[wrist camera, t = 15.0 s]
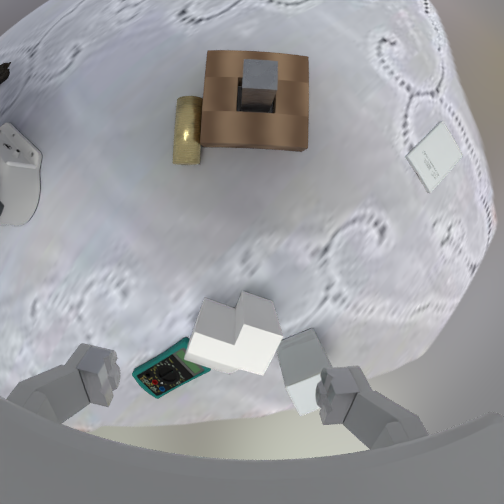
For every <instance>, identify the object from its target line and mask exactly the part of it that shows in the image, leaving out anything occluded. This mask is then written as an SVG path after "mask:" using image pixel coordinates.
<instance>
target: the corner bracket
mask: <svg viewBox="0 0 504 504" xmlns="http://www.w3.org/2000/svg"><path fill="white" fill-rule="evenodd" d="M282 338H283V334H282V330H281V327H280V324H279V320H278V317H277V314H276V310H275V307H274V304H273V301H270V300H268V299H265V298H262V297H259V296H256V295H253V294H250V293H248V292H245V291H242V293H241V295H240V298H239V300H238V303H237V305H236V308H233V307H230V306H227V305H224V304H221V303H219V302H216V301H213V300H210V299H208V298H204V301H203V303H202V306H201V309H200V312H199V314H198V317H197V320H196V323H195V326H194V328H193V331H192V334H191V337H190V340H189V344H188V347H187V350H186V354H185V357H184V360H187V361H190V362H193V363H196V364H199V365H202V366H205V367H208V368H211V369H214V370H217V371H220V372H224V373H227V374H231V373H233V372H235V371H237V370H239V369H241V370H245V371H248V372H252V373H255V374H259V375H264V373H265V371H266V369H267V367H268V365H269V364H270V362H271V360H272V358H273V356H274V354H275V352H276V350H277V348H278V346H279V344H280V342H281V340H282Z"/></svg>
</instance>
